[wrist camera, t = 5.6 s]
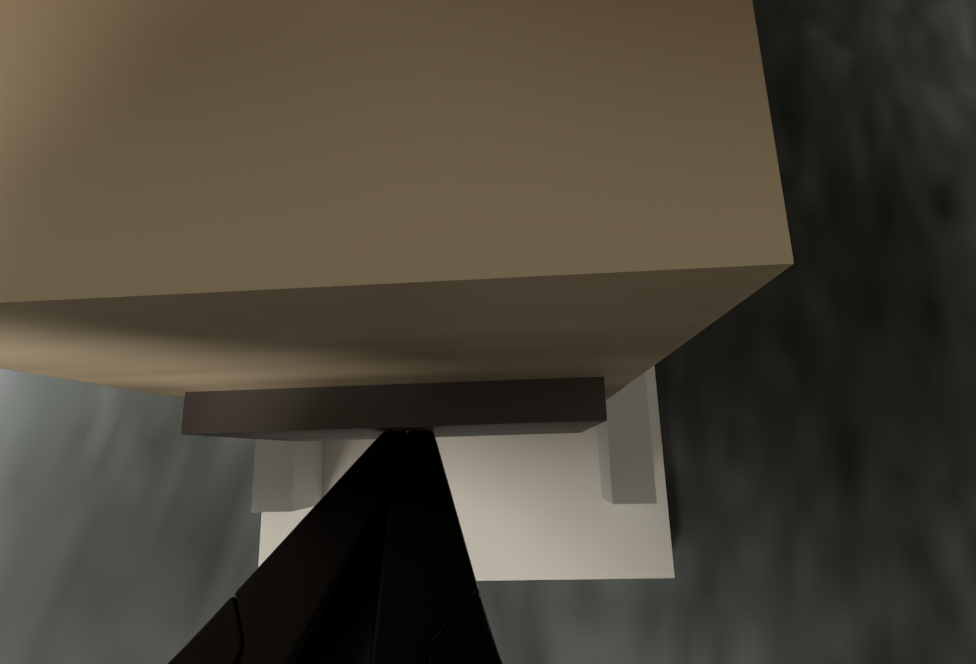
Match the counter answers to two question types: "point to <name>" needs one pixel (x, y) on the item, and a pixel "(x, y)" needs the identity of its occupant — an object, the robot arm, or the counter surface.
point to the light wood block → (379, 204)
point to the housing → (517, 494)
